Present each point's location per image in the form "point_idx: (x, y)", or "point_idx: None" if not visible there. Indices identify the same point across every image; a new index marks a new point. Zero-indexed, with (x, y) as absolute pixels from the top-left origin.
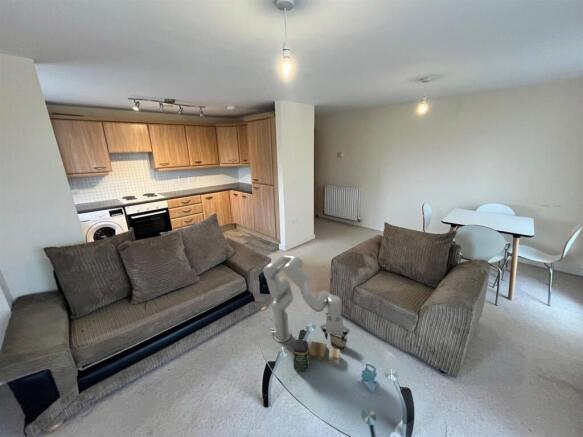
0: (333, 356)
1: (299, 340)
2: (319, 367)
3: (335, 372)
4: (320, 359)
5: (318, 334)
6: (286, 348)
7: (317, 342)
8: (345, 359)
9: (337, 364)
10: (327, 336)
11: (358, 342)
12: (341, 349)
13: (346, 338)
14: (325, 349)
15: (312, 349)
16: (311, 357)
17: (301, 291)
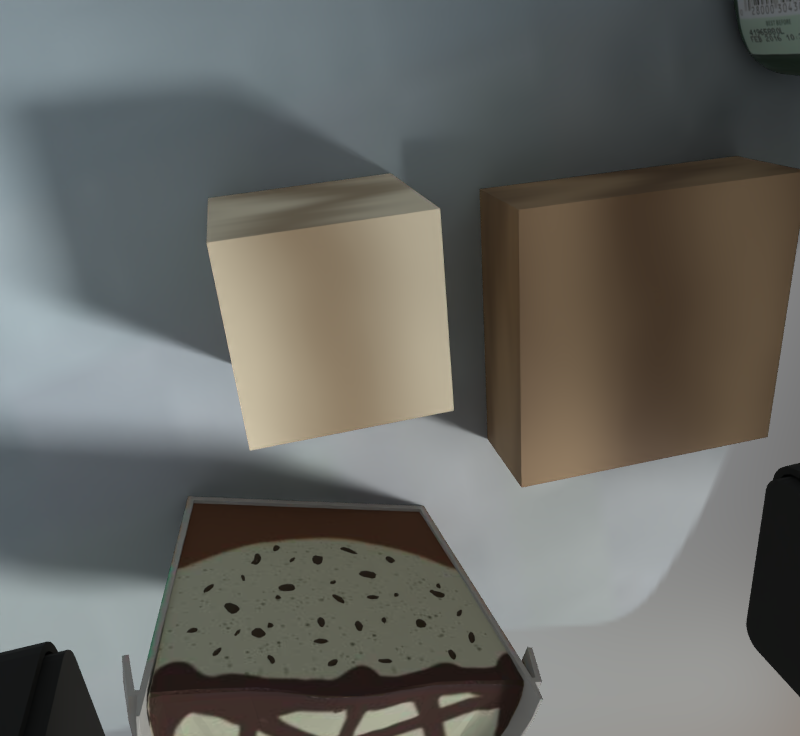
0: (338, 231)
1: None
2: (539, 19)
3: (224, 5)
4: (551, 183)
5: (634, 595)
6: None
7: (672, 449)
8: (122, 354)
9: (233, 195)
10: (791, 600)
11: None
12: (246, 505)
13: None
14: (519, 372)
15: (745, 282)
16: (705, 164)
17: None
